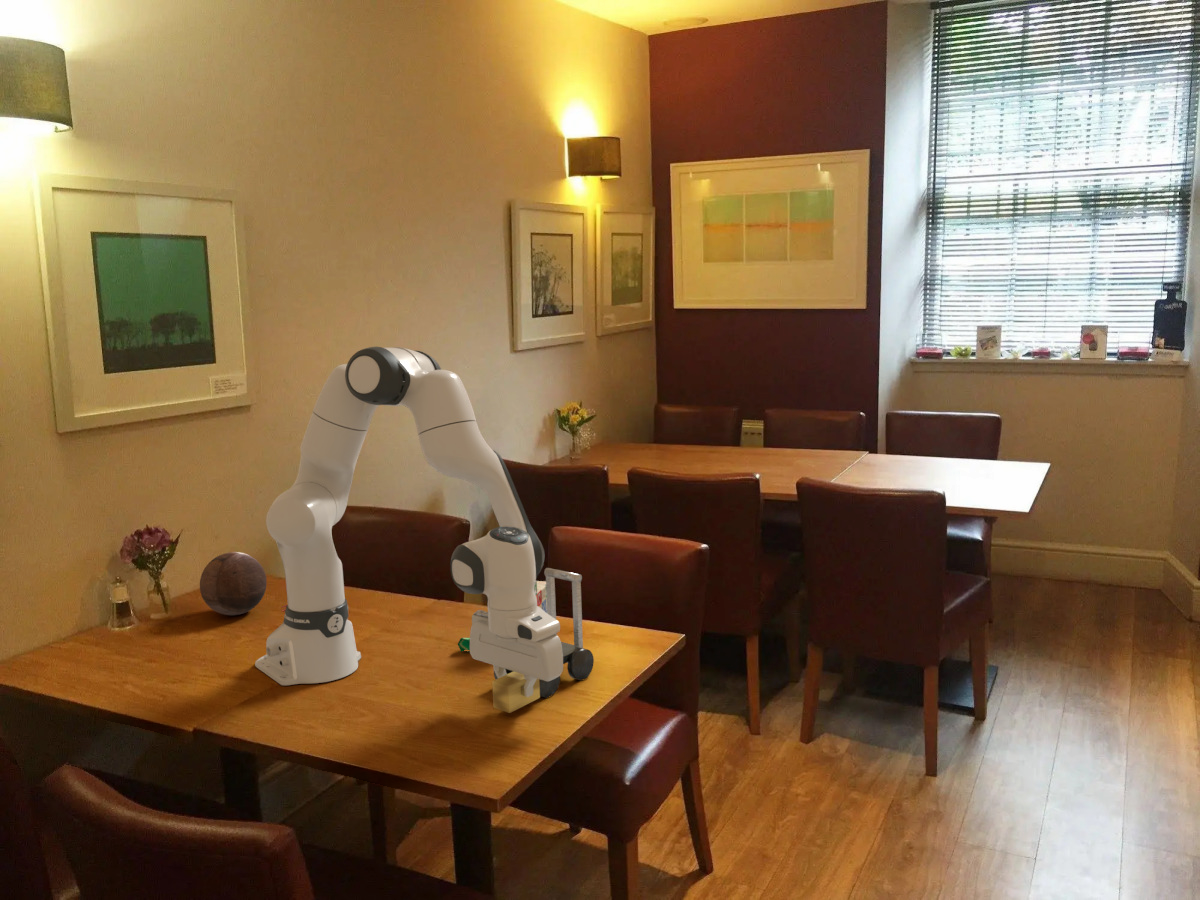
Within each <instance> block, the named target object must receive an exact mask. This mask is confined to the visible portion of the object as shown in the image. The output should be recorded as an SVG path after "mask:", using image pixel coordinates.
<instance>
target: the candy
mask: <svg viewBox="0 0 1200 900" xmlns="http://www.w3.org/2000/svg"><path fill="white" fill-rule="evenodd" d="M457 646H458V649H459V650H460V652H461V653H463V652H462V651H464V650H470V637H461V638H459V641H458V642H457Z"/></svg>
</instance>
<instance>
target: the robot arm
mask: <svg viewBox="0 0 1200 900" xmlns="http://www.w3.org/2000/svg"><path fill="white" fill-rule="evenodd" d="M379 406H388V407H401V406H405V407H406V408H407V409H408V410H409V412H411V414H412V416H413V419H414V422H415V427H416V432H417V436H418V440H419V444H420V448H421V451H422V454H423V456H424V457H423V458H424V459H425V461H426V462H427V464H428V465H429V466H430V467H431V468H432V469H433V470H435V471H436V472H437V473H440V474H442V475H443V476H446V477H449V478H452V479H453V478H454V479H456V480H462V481H465V482H469V483H472V484H474V485H476V486H478V487H479V488H480V489H481V490H482V491H483V492H484V493H485V495H486V496H487V498H488V501H489V504H490V505H491V507H492V510H493V513H494V515H495V518H496V520H497V522H498V525H499V527H494V528H493V529H491V530H489V531H488V532H487V534H486V535H484V536H482V537H479V538H477V539H473V540H470V541H466V542H464V543H462V544H459V545H457V546H456V548H454V550H453V553H452V555H451V557H450V566H449V568H450V569H449V570H450V575H451V579H452V581H453V583H454V585H456V586H457V588H458V589H460V590H461V591H462V592H464V593H466V594H470V595H481V594H482V595H486V597H487V611H485V610H484V609H483V610H482V609H478V610H477V611H474V613H473V615H472V616H471V624H472V625H471V628H470V634H469V638H470V651H469V654H470V656H471V658H472V659H474V660H476V661H478V662H479V661H480V662H482V663H486V664H489V665H492V667H493V673H494V672H495V674H496V676H497V678H500V677H502V676H505V675H507V673H506V670H505V669H508V670H512V671H515V672H518V673H521V674H524V679H525V680H527V681H526V683H525V685H523V686H521V695H523V696H526V697H529V696H531V695H533V685H534V684H535V682H536V680H537V678H538V679H541V680H544V681H551V680H553V679H555V678H557V677H559V676H560V677H561V674H562V673H563V671H564V664H563V653H562V645H561V642H562V641H561V639H560V637H559V635H558V633H559V632H560V630H561V624H560V621H559V620H558V619H557V618H556V619H555V618H553V617H552V616H550V615H549V614H547V613H546V612H545V611H544V610H542V609H541V608H540V607H539V606H537V597H536V595H535V591H534V586H535V581H537V578H538V576H539V574H540V573H541V571H542V569H543V566H544V562H545V557H546V556H545V549H544V546H543V544H542V542H541V540H540V539H539V537H538V534H537V533H536V531H535V530H534V528H533V527H532V525H531V523H530V521H529V517H528V515H527V514H526V510H525V509H524V506H523V503H522V500H521V499H520V496H519V493H518V491H517V488H516V486H515V483H514V482H513V479H512V475H511V474H510V472H509V470H508V468H507V465H506V463H505V461H504V460H503V458H502V456H501V455H500V454H499V452H498V451H496V450H494V449H492V448H491V447H490V446H489V444H488V443H487V442H486V440H485V439H484V436H483V435H482V433H481V431H480V428H479V426H478V425H479V424H478V422H477V419H476V414H475V410H474V407H473V405H472V401H471V399H470V397H469V394H468V391H467V390H466V387H465V385H464V383H463V381H462V379H461V378H460V375H458V374H457V373H455V372H453V371H451V370H448V369H442V368H441V366H440V365H439V363H438V362H437V360H436V359H435V358H434V357H432V356H431V355H429V354H427V353H426V352H423V351H420V350H412V349H409V348H405V347H400V346H394V347H381V346H370V347H365V348H362V349H360V350H358V351H356V352H355V353H354V354H352V356H351V357H350V359H349V360H348V362H347V363H343V364H339V365H337V366H336V367H334V368H333V369H332V371H331V372H330V373H329V375H328V377H327V379H326V381H325V382H324V384H323V386H322V388H321V390H320V392H319V394H318V397H317V399H316V401H315V403H314V407H313V409H312V412H311V415H310V418H309V420H308V424H307V427H306V429H305V432H304V435H303V438H302V441H301V444H300V448H299V450H300V458H299V459H300V461H299V466H298V471H297V476H296V479H295V481H294V483H293V484H292V485H291V487H290V488H288V489H286V490H284V491H283V492H281V493H280V494H279V495H278V496H277V497H276V498H275V499H274V500H273V502H272V504H271V505H270V507H269V509H268V511H267V513H266V520H265V524H266V528H267V531H268V534H269V535H270V537H271V538H272V539H273V540H274V541H275V542H276V545H277V549H278V552H279V555H280V558H281V562H282V565H283V570H284V575H285V588H286V589H285V590H286V597H287V598H286V599H287V604H286V605H283V606H281V607H280V608H281V609H282V610H281V612H282V613H283V612H284V617H283V622H282V623H281V624H280V625H279V626H278V627H277V628H276V629H275V630H274V631H272V633H270V634H269V635H268V637H267V639H266V641H265V642H266V648H265V649H266V650H265V651H266V652H265V653H266V654H264V655H263V656H261V657H259V658H258V659H257V660H255V662H254V663H255V665H254V666H255V667H256V668H257V669H258V670H260V672H262V673H264V674H265V675H267V676H268V677H270V678H271V679H272V680H273V681H275V682H276V683H278V684H279V685H280V686H291V685H298V684H300V685H301V684H302V685H303V684H319V683H328V682H331V681H335V680H336V681H337V680H339V679H340V680H341V679H342V678H345V677H347V676H349V675H351V674H352V673H355V671H357V669H358V667H359V661H360V660H361V658H362V655H361V651H358V649H357V645H356V638H355V633H354V627H353V623H352V621H351V620H349V605H348V600H347V599H346V598H345V584H344V583H345V581H344V570H343V563H342V560H341V559H340V558H339V556H338V553H337V551H336V548H335V544H334V540H333V535H332V529H333V526H335V525H336V524H337V523H338V522H340V520H341V519H342V517H343V516H344V514H345V513H346V512H345V511H346V509H347V505H348V501H349V498H350V493H351V488H352V483H353V479H354V473H355V469H356V465H357V462H358V458H359V456H360V454H361V451H362V448H363V445H364V443H365V440H366V437H367V434H368V432H369V428H370V425H371V423H372V419H373V417H374V414H375V412H376V410H377V409H378V408H379ZM283 608H284V609H283ZM556 633H557V635H556Z"/></svg>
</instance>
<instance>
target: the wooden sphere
mask: <svg viewBox="0 0 1200 900" xmlns="http://www.w3.org/2000/svg"><path fill="white" fill-rule="evenodd" d="M267 583H268V582H267V575H266V572H265V570H264V567H263V566H262V563H260V562H259V561H258V560H257V559H256V558H254V557H253V556H251V555H249V554H247V553H245V552H240V551H238V552H237V551H232V552H231V551H230V552H226V553H222V554H219V555H217V556H216V557H213V559H211V561H209V562H208V564H206V566H205V567H204V569H203V570H202V573H201V575H200V579H199V590H200V591H199V592H200V595H201V597H202V599H203V601H204V603H205V604H206V605H207V607H209V608H210V609H211V610H212V611H214V612H216V613H217V614H218V613H219V614H220V615H224V616H240V615H243V614H246V613H247V612H250V611H251V610H253V609H254V608H256V607H257V605H258V604H259V603H260V602H261V601H262V599H263V597H264V596H265V593H266V589H267Z"/></svg>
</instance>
